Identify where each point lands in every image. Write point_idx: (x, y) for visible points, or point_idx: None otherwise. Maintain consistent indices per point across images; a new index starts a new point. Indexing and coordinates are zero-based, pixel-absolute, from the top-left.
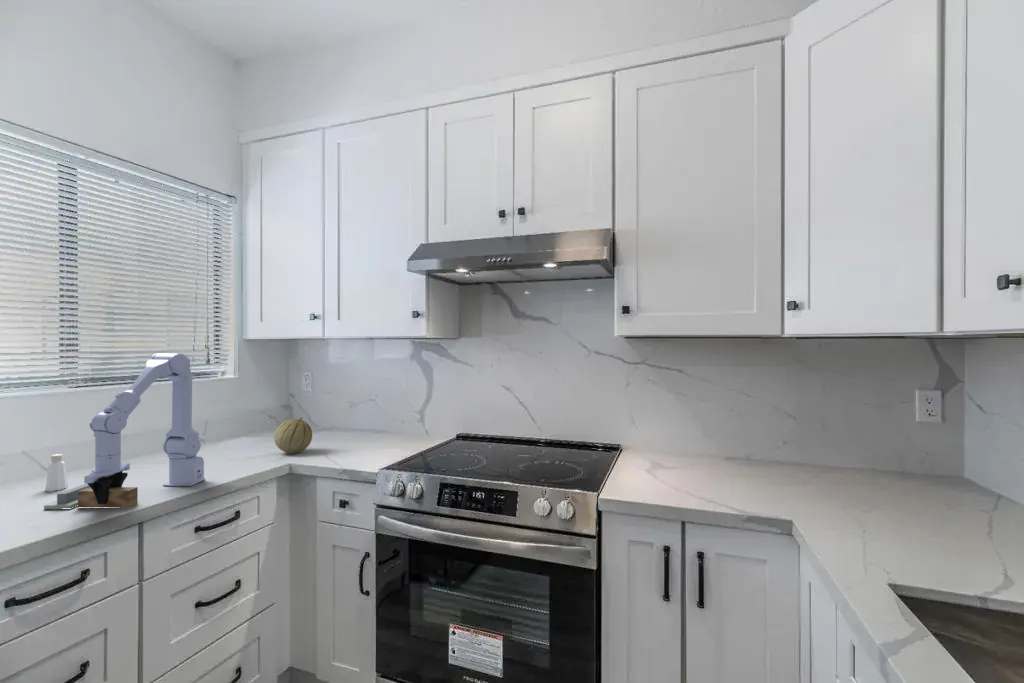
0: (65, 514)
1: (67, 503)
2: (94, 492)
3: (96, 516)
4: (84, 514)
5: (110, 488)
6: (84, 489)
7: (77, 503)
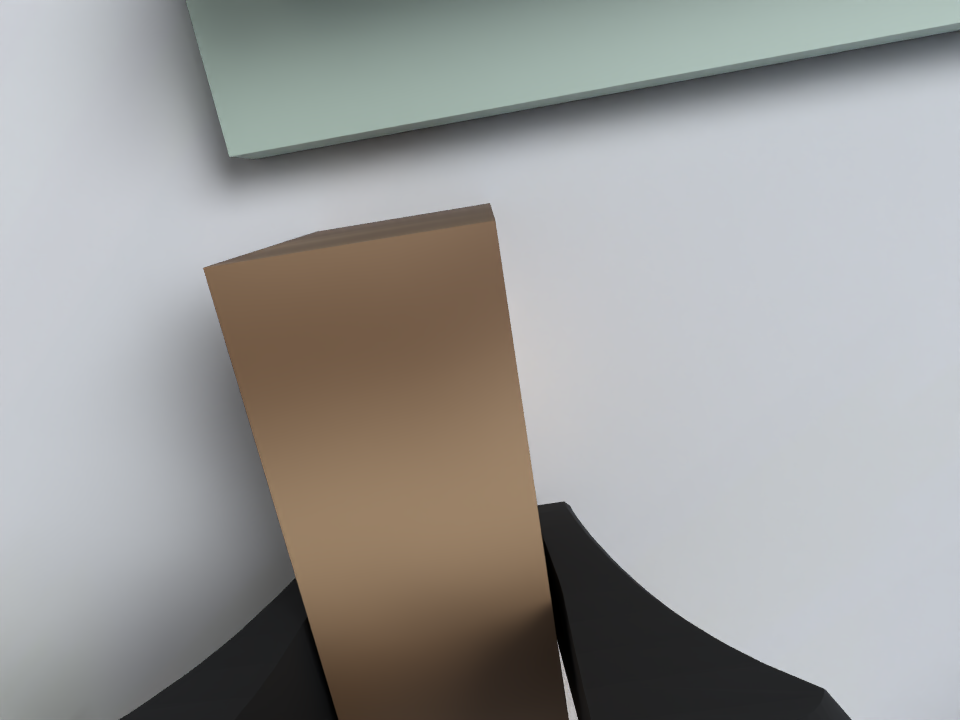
0: (99, 294)
1: (290, 11)
2: (227, 654)
3: (160, 673)
4: (169, 512)
5: (494, 707)
6: (351, 281)
7: (380, 130)
